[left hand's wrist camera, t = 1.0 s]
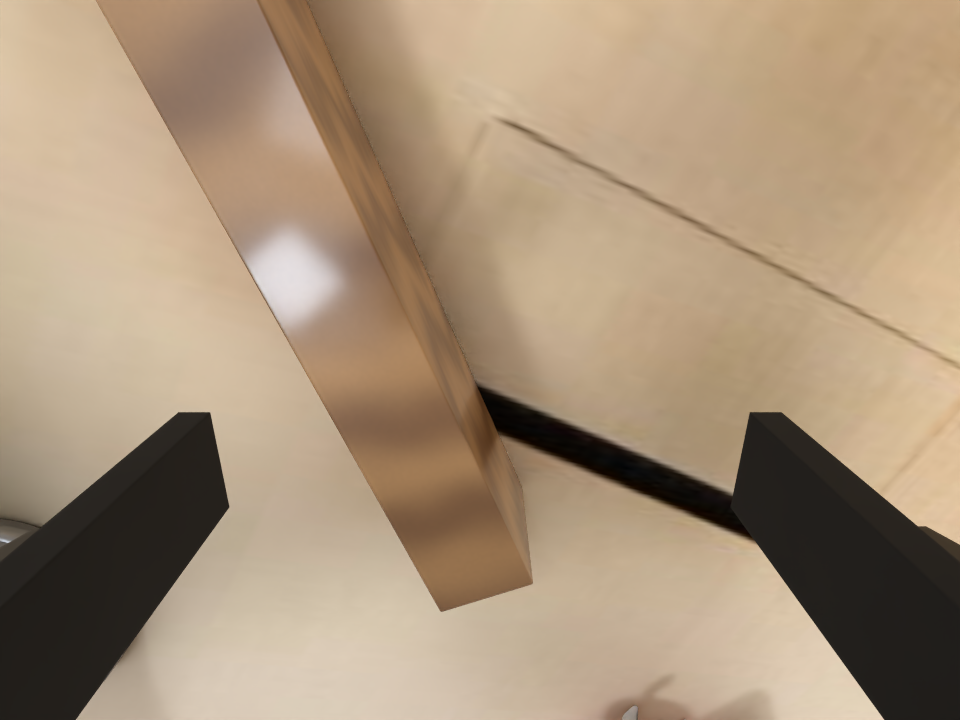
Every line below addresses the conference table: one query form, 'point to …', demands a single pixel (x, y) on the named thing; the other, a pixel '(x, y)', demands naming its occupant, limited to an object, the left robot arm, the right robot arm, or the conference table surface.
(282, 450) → the conference table surface
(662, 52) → the conference table surface
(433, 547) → the bar
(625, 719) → the fish
